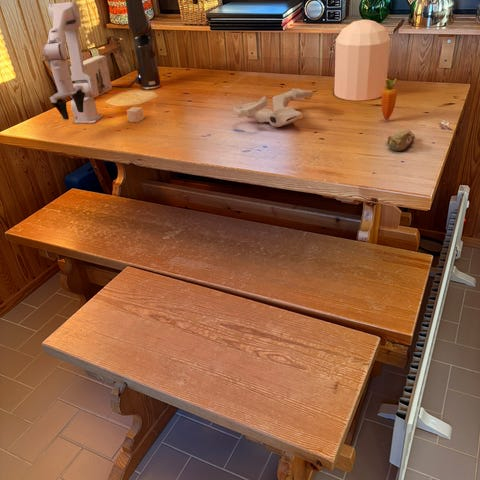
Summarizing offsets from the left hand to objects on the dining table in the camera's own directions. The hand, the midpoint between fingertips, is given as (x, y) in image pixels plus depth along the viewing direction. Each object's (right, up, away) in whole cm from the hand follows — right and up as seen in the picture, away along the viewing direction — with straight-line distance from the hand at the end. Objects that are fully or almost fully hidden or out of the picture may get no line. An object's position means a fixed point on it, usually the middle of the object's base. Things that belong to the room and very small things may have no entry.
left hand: (73, 115), depth 173 cm
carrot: (+115, -4, -8) cm, 115 cm away
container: (+113, +15, +20) cm, 115 cm away
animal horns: (+77, -4, -2) cm, 77 cm away
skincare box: (-7, +23, +49) cm, 54 cm away
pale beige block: (+20, +3, +16) cm, 26 cm away
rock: (+114, -17, -26) cm, 118 cm away
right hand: (+46, +53, +21) cm, 74 cm away
